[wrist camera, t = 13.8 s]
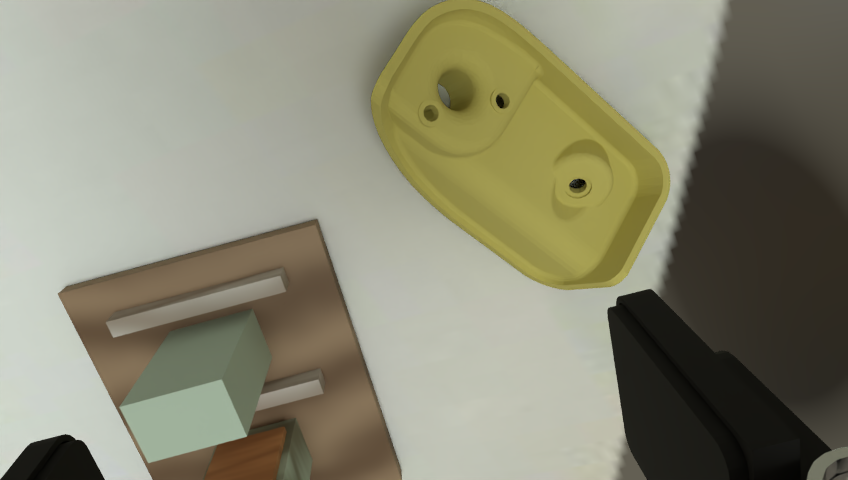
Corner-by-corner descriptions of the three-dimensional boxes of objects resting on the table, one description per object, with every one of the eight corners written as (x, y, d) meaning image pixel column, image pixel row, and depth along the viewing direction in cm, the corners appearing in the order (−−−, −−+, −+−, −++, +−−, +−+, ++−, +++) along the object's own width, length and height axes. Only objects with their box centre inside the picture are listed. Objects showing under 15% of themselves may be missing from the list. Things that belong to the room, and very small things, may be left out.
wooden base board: (66, 286, 43) (-24, 363, 33) (317, 219, 42) (299, 277, 33) (186, 526, 50) (141, 645, 41) (401, 470, 50) (406, 577, 40)
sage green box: (170, 331, 43) (119, 407, 35) (252, 308, 43) (221, 379, 35) (194, 384, 45) (151, 469, 36) (274, 363, 45) (250, 443, 36)
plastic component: (681, 171, 41) (613, 301, 39) (607, 180, 48) (546, 291, 46) (454, -39, 34) (358, 105, 32) (406, 6, 41) (324, 127, 39)
